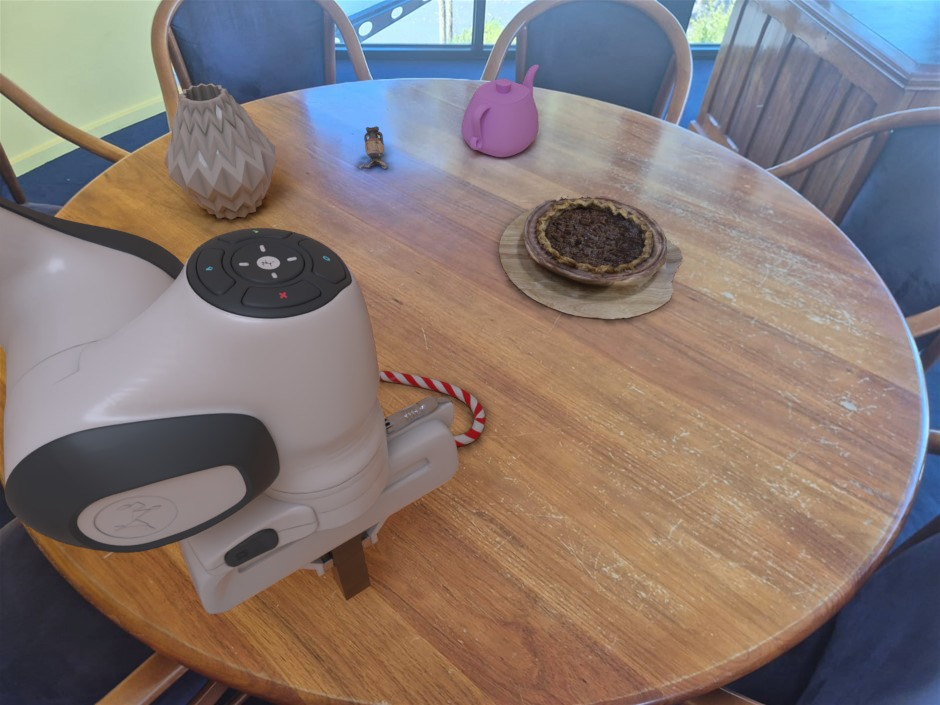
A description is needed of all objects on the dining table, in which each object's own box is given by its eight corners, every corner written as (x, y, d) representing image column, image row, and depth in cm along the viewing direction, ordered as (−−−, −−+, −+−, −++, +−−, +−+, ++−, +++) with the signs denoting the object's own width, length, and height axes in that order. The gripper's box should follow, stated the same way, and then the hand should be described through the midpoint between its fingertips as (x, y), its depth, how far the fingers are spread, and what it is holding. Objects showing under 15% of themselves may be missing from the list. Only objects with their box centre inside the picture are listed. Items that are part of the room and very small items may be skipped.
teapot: (502, 175, 110) (507, 110, 101) (442, 150, 115) (442, 87, 106) (559, 132, 121) (568, 71, 112) (502, 111, 126) (507, 51, 117)
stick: (346, 601, 53) (323, 523, 43) (333, 578, 54) (308, 498, 44) (371, 585, 54) (354, 506, 44) (358, 563, 55) (338, 481, 45)
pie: (649, 345, 82) (659, 318, 78) (466, 278, 90) (468, 251, 86) (698, 235, 99) (708, 208, 96) (541, 187, 107) (544, 161, 104)
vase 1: (222, 170, 107) (190, 61, 94) (305, 191, 104) (284, 80, 90) (158, 220, 97) (113, 105, 83) (248, 246, 93) (216, 130, 80)
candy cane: (395, 353, 78) (499, 404, 73) (395, 360, 79) (498, 411, 74) (356, 394, 73) (464, 452, 68) (357, 401, 74) (464, 458, 69)
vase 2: (363, 153, 113) (360, 121, 109) (392, 154, 113) (390, 123, 109) (358, 168, 109) (354, 137, 105) (388, 170, 109) (386, 138, 105)
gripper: (429, 359, 46) (431, 462, 56) (142, 498, 37) (206, 590, 47) (479, 416, 42) (472, 515, 52) (175, 584, 34) (237, 662, 44)
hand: (344, 552), depth 50 cm, fingers closed on stick, 2 cm apart
